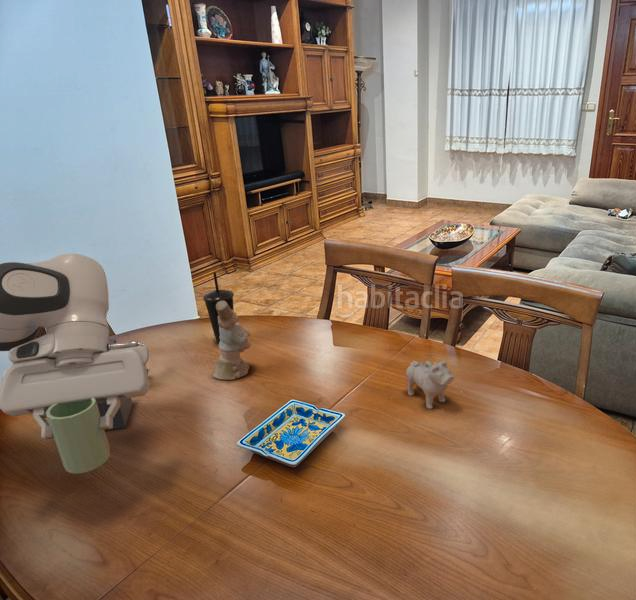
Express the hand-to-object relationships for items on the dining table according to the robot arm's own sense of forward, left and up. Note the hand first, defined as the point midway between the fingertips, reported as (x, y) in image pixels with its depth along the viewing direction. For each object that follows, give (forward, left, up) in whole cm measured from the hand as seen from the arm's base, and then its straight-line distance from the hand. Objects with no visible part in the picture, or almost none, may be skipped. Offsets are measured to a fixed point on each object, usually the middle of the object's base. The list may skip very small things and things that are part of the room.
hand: (77, 433), depth 78 cm
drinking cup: (+19, +57, -15) cm, 62 cm away
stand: (-6, +28, -15) cm, 32 cm away
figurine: (+21, +39, -15) cm, 47 cm away
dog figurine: (+62, +13, -15) cm, 65 cm away
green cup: (0, +1, -5) cm, 5 cm away
